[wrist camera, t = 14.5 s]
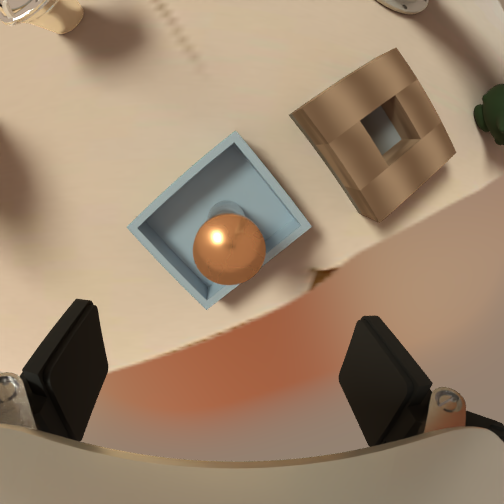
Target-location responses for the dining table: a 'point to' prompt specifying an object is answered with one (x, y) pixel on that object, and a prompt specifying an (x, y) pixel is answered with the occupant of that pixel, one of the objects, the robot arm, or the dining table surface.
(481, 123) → the toy figurine
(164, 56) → the dining table surface
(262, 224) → the tray
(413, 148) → the square wooden block
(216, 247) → the copper capped shaker
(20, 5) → the cup with straw
